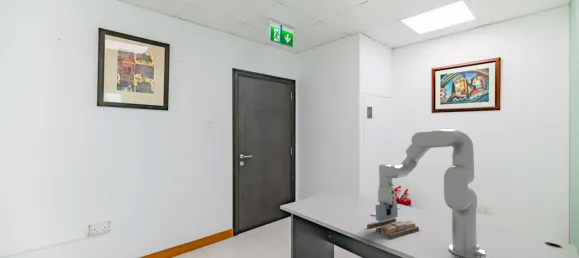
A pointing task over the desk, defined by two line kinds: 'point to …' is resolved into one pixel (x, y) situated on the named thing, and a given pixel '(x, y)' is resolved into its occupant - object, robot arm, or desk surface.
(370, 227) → the offcut rack
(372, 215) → the baseboard molding
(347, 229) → the desk surface
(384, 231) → the offcut
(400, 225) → the offcut
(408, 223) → the offcut
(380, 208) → the tall sheet
